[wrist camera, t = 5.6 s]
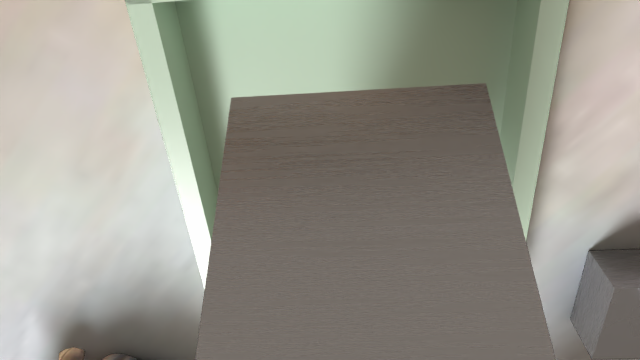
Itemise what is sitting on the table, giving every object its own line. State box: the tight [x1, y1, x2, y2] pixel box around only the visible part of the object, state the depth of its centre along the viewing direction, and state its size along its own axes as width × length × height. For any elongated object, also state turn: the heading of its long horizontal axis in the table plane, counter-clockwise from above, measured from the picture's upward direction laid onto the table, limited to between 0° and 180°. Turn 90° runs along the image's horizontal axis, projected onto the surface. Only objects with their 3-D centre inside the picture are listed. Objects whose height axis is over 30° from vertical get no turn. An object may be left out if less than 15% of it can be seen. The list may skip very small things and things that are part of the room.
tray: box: [125, 0, 569, 289], centre depth 18 cm, size 16×13×3 cm
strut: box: [195, 83, 556, 360], centre depth 11 cm, size 12×4×4 cm, turn 5°
